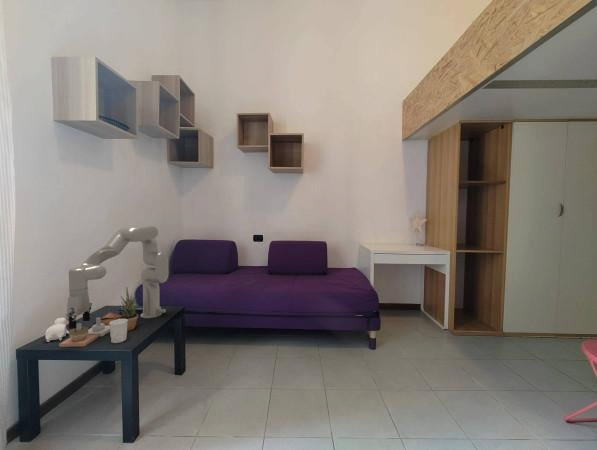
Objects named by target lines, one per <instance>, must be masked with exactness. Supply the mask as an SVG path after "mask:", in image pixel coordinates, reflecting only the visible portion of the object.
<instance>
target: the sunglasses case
mask: <svg viewBox="0 0 597 450" xmlns="http://www.w3.org/2000/svg"><path fill="white" fill-rule="evenodd" d="M120 316H121V315H120V314H117V313H115V312H110V311H109V312H108V313H107V314H105V315H103V316H102V317H100V318H101V323H104V324H105V326H110V322H111V321H113V320H117V319H119V317H120ZM95 324H96V321H95V322H94V323H93V325H95Z"/></svg>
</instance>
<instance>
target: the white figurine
mask: <svg viewBox="0 0 597 450" xmlns="http://www.w3.org/2000/svg"><path fill="white" fill-rule="evenodd" d="M53 322H54V323H53V324H52V325H51V326H50V327H48V328H47V329H46V331H45V336H44V337H45V340H46V343H47V342H49V343H50V341H58V340H59V341H61V340H62V341H63V337H66V335H70V330H68V329H67V325H66V324H67V319H66V317H59V318H56V319H55V320H54V321H53Z"/></svg>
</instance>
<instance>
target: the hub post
mask: <svg viewBox="0 0 597 450" xmlns="http://www.w3.org/2000/svg"><path fill="white" fill-rule="evenodd" d="M81 327H82V323H81V322H76V328H77V331H80V330H82V329H81ZM98 338H99V336H98V335H86V336H84V337H80V338H70V337H69V338H67V339H65V340H62V342H59V343H58V347H59V348H66V347H71V348H72V347H86V346H87V345H89V344H90V343H92V342H93V341H95V340H96V339H98Z"/></svg>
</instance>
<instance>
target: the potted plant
mask: <svg viewBox="0 0 597 450" xmlns="http://www.w3.org/2000/svg"><path fill="white" fill-rule="evenodd" d="M125 294H126V300H125V298H123V296H122V295H119V296H120V298H121V300H122V301H121V302H120V303H119V307H120V308H121V310H120V312H122V315H120V317H119V319H127V320H128V321H127V332H128V331H132V330H134V329H135V328H136V324H137V320H138V319H139V314H138V313H137V306H138V305H139V302H138V303H136V302H137V299H136V294H134V296H133V294H132V293H131V294H129V289H128V286H126V287H125ZM135 304H136V305H135ZM134 305H135V306H134Z"/></svg>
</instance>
